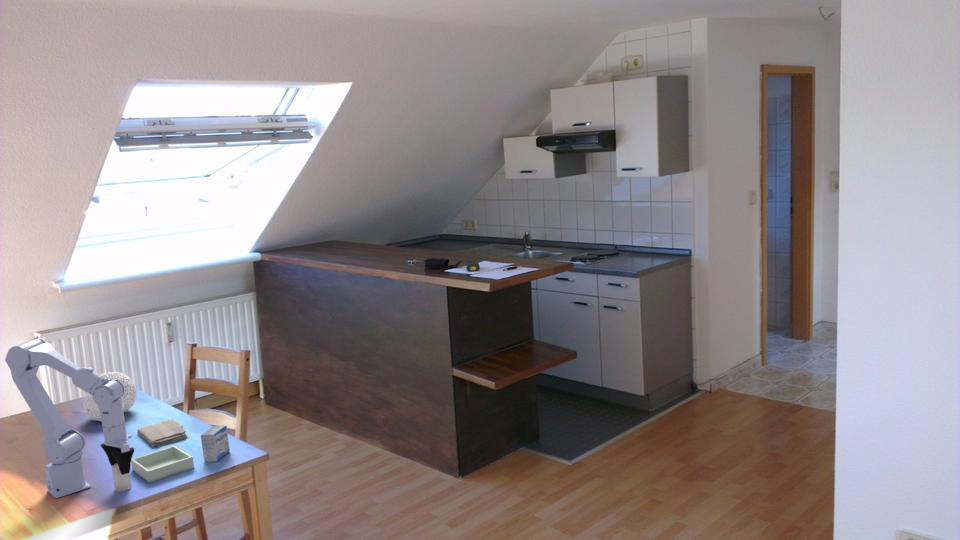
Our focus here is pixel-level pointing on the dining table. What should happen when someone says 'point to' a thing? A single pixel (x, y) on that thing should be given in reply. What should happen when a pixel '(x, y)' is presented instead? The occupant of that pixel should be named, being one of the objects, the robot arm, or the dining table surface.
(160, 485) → the dining table surface
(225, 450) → the medicine box
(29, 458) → the dining table surface
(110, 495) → the dining table surface
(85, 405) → the cauliflower
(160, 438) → the washcloth
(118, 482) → the white capsule cylinder
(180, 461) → the tote
